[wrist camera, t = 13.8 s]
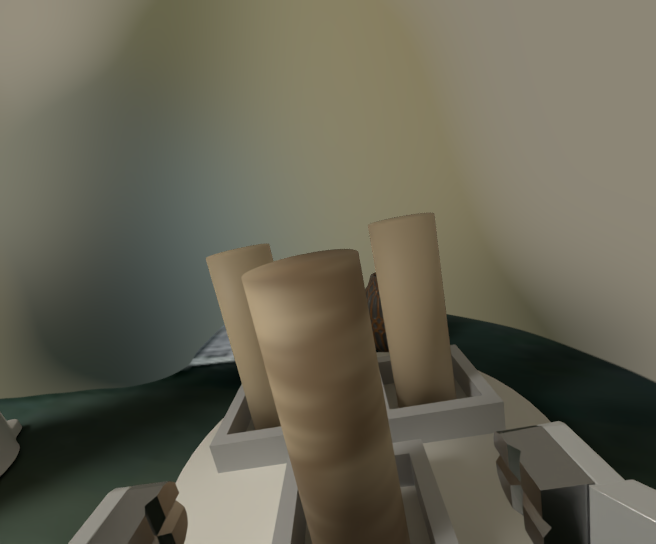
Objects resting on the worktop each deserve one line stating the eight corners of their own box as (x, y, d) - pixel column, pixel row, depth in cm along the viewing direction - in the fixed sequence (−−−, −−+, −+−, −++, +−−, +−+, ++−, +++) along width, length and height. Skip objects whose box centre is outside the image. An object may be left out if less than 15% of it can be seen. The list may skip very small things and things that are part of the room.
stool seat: (17, 869, 9) (-316, 429, 6) (243, 395, 32) (201, 249, 28) (861, 820, 8) (1057, 186, 4) (468, 358, 30) (451, 199, 27)
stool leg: (316, 620, 11) (223, 290, 9) (321, 513, 15) (258, 262, 12) (424, 608, 11) (363, 263, 8) (401, 502, 15) (354, 244, 12)
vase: (351, 349, 37) (338, 280, 35) (390, 327, 40) (380, 263, 39) (395, 367, 31) (381, 285, 29) (436, 340, 35) (426, 266, 33)
